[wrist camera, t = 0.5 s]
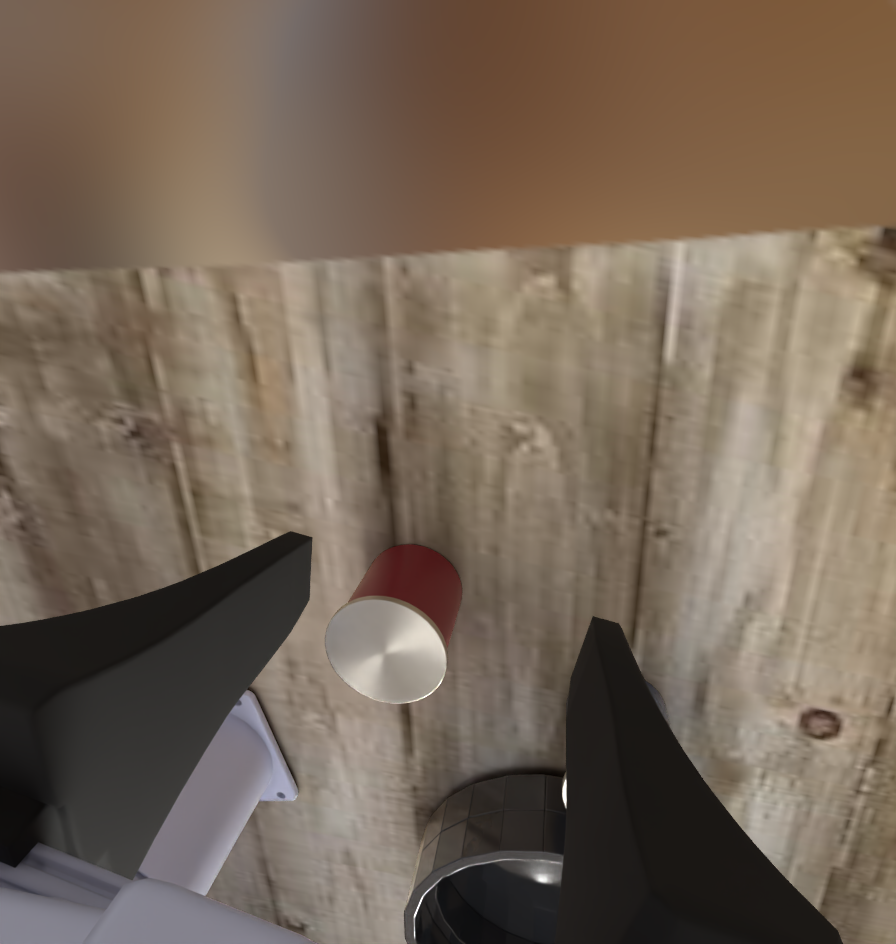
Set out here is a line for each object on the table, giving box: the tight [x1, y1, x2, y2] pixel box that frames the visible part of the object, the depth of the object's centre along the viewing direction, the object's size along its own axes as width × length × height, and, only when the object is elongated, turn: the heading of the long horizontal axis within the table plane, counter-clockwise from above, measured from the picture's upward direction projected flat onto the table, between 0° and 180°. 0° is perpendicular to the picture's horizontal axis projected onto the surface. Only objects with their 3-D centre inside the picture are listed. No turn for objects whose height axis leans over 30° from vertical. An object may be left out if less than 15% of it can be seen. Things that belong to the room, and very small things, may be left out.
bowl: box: [404, 774, 566, 944], centre depth 29 cm, size 15×15×4 cm
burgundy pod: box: [325, 544, 462, 703], centre depth 24 cm, size 5×5×5 cm
